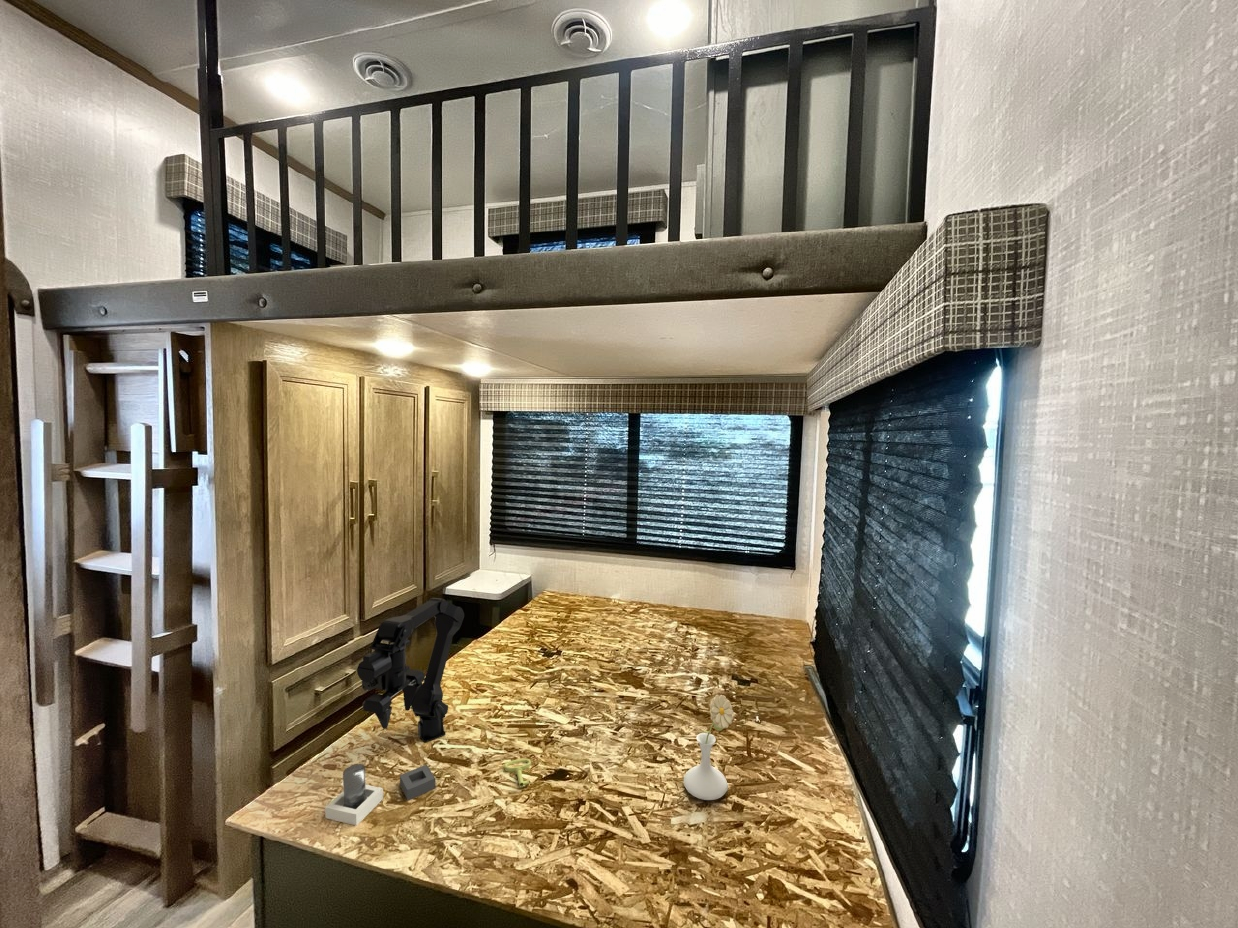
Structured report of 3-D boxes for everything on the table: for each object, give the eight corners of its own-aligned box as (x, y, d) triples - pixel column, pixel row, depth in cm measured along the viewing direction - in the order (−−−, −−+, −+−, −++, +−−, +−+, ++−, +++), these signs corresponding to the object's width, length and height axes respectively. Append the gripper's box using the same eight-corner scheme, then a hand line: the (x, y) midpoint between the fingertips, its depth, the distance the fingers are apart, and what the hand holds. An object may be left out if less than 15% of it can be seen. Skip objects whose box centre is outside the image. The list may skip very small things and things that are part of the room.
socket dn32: (427, 773, 137) (426, 764, 137) (435, 788, 132) (435, 778, 132) (400, 785, 133) (399, 775, 133) (407, 800, 128) (407, 789, 127)
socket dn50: (353, 792, 131) (353, 781, 130) (383, 798, 128) (382, 788, 128) (325, 818, 122) (325, 807, 122) (356, 825, 120) (356, 814, 119)
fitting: (369, 795, 128) (368, 761, 128) (363, 810, 123) (362, 775, 122) (347, 798, 127) (346, 764, 127) (340, 814, 122) (338, 778, 121)
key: (520, 792, 131) (520, 784, 131) (501, 767, 141) (501, 759, 141) (545, 781, 135) (545, 773, 135) (525, 757, 145) (525, 750, 145)
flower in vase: (694, 809, 125) (695, 712, 123) (676, 778, 136) (677, 689, 134) (741, 798, 128) (743, 703, 126) (720, 769, 139) (721, 682, 137)
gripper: (392, 647, 151) (394, 698, 152) (344, 677, 133) (346, 734, 134) (425, 651, 148) (426, 703, 149) (380, 682, 130) (382, 740, 131)
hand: (396, 719), depth 141 cm, fingers open, 9 cm apart
